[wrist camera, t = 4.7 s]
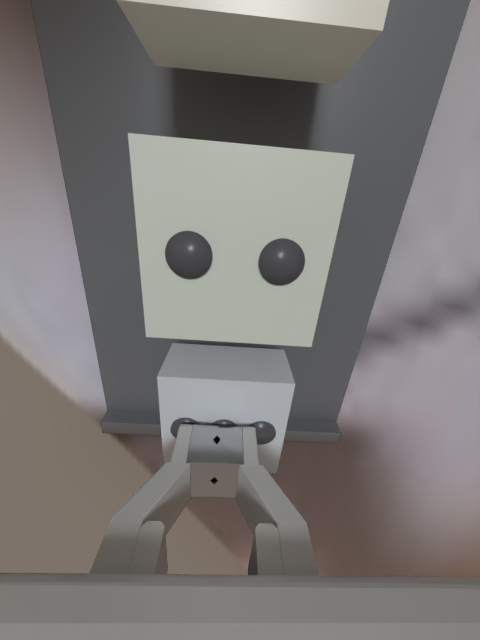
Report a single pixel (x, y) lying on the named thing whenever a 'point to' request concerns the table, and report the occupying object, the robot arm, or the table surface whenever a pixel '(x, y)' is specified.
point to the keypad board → (244, 128)
